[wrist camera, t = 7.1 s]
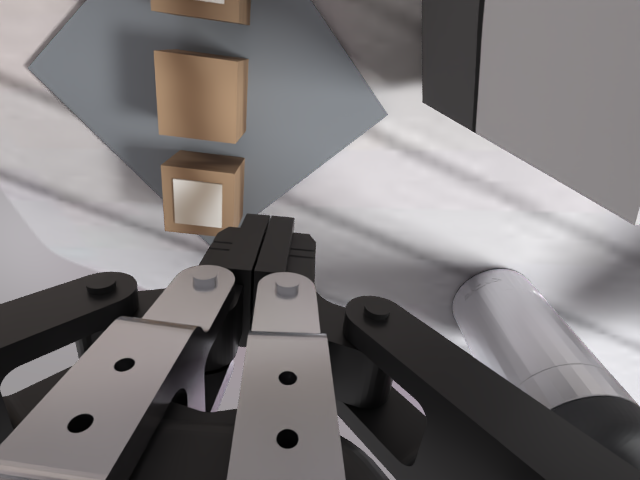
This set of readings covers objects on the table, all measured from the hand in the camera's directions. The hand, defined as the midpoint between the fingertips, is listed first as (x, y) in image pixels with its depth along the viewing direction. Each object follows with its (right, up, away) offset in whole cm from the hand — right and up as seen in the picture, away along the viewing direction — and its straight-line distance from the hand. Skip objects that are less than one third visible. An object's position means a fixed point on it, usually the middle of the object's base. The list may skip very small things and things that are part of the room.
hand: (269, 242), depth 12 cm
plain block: (-8, +13, +21) cm, 26 cm away
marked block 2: (-9, +6, +25) cm, 27 cm away
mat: (-8, +13, +22) cm, 27 cm away
